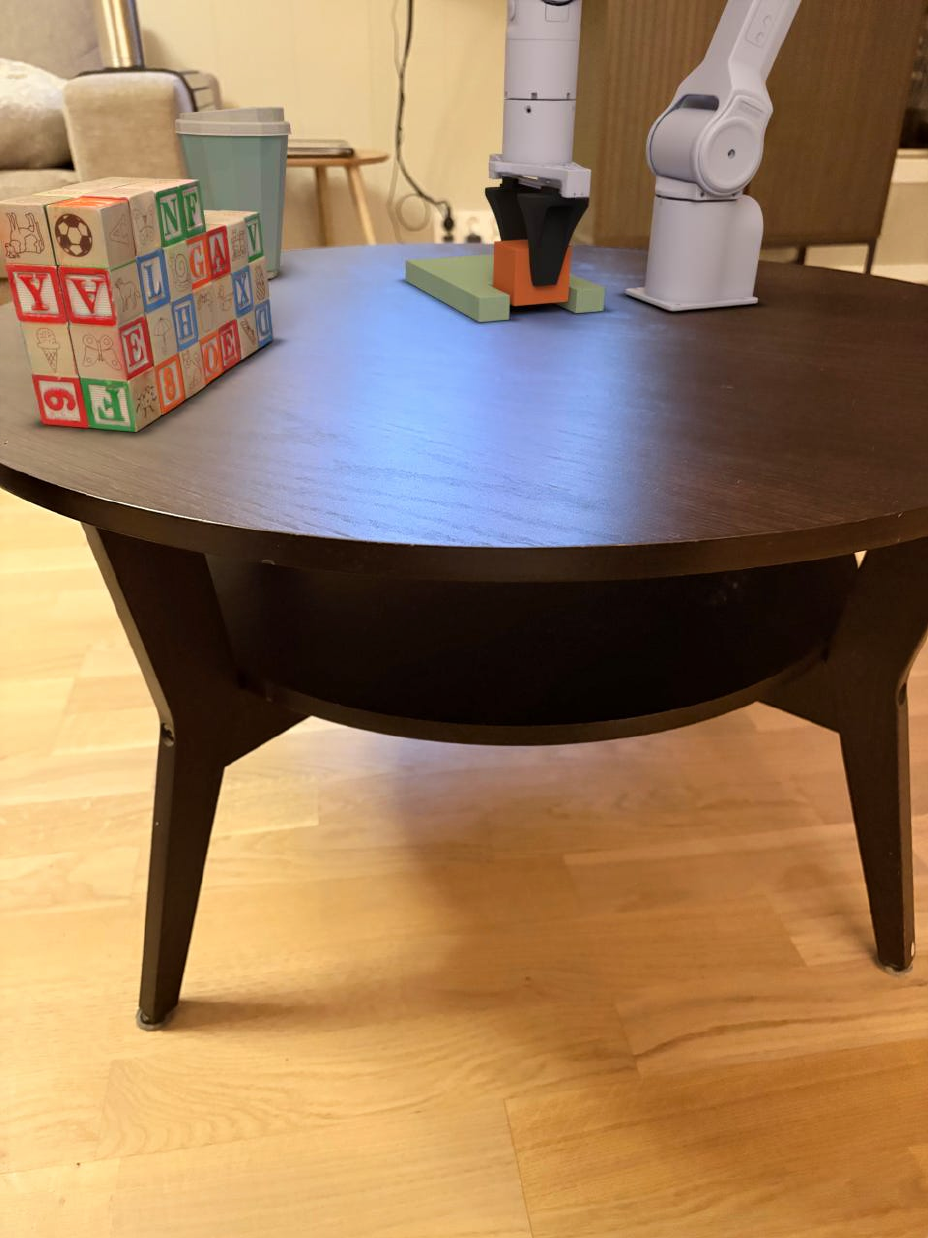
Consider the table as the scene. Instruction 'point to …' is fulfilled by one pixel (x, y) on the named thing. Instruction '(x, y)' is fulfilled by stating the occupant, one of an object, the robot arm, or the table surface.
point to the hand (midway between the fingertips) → (531, 279)
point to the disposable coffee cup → (240, 165)
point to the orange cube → (525, 275)
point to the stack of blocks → (131, 296)
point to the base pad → (486, 287)
